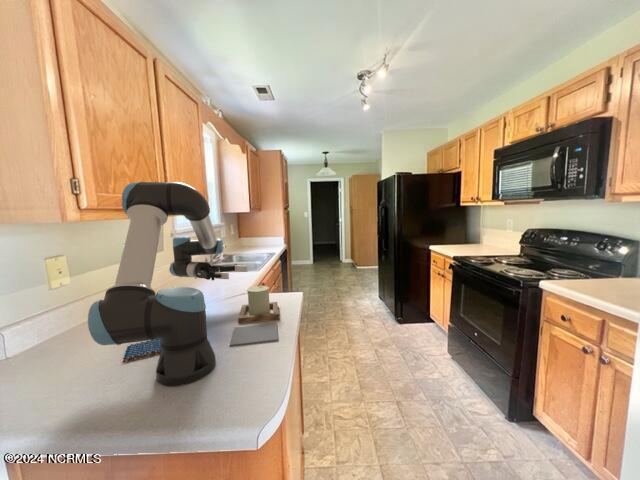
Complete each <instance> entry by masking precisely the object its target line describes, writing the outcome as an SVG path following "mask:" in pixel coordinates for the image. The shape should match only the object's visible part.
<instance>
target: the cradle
mask: <svg viewBox="0 0 640 480" xmlns="http://www.w3.org/2000/svg"><path fill="white" fill-rule="evenodd" d="M278 304H279V303H278V301H271V302H270V301H269V305H270V309H272V310H273V312H270V313H268V314H258V315H249V314H248V315H246V314H247V311H248V312H249V304H248V303H247V304H242V305H241V307H240V311H239V314H238V315H239V316H238V320H237V321H238V324H246V323H247V324H248V323H256V322H266V321H274V320H280V315H279V305H278Z"/></svg>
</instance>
